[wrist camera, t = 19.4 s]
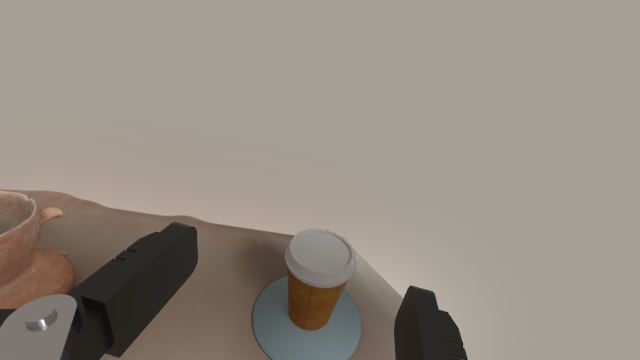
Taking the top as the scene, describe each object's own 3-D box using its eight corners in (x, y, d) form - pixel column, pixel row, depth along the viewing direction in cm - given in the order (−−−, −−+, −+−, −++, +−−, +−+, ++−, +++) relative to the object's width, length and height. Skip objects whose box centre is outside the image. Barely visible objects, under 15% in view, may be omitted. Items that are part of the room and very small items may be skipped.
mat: (375, 306, 44) (376, 304, 44) (331, 404, 31) (331, 402, 30) (293, 261, 50) (293, 259, 50) (227, 326, 37) (227, 325, 36)
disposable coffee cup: (306, 276, 46) (317, 219, 41) (352, 312, 42) (371, 251, 36) (263, 310, 39) (270, 245, 34) (312, 357, 34) (329, 290, 29)
